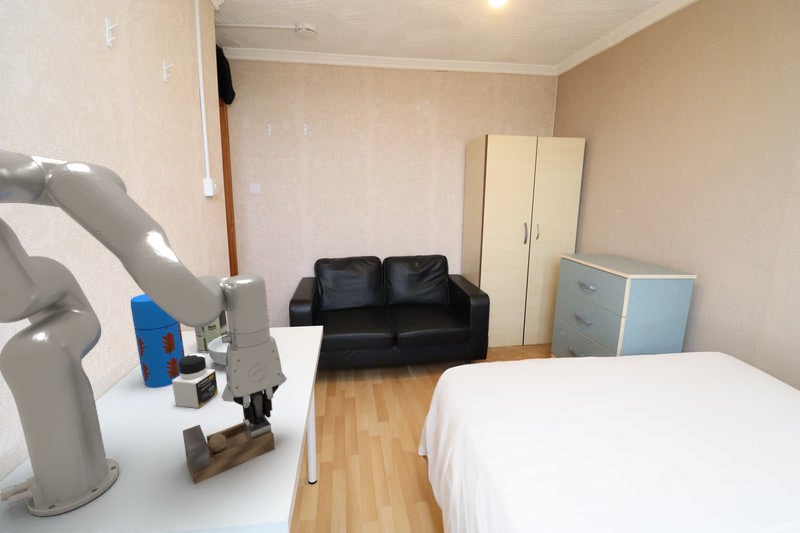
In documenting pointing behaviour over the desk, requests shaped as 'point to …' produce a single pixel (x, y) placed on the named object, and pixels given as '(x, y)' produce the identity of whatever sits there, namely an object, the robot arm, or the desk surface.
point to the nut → (217, 443)
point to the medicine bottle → (194, 382)
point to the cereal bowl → (218, 350)
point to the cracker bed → (232, 455)
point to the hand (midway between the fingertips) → (258, 417)
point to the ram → (257, 418)
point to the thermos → (156, 342)
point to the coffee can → (211, 332)
